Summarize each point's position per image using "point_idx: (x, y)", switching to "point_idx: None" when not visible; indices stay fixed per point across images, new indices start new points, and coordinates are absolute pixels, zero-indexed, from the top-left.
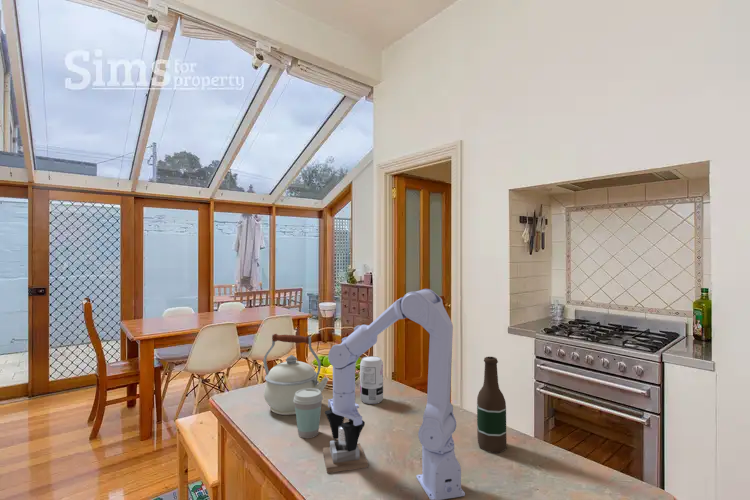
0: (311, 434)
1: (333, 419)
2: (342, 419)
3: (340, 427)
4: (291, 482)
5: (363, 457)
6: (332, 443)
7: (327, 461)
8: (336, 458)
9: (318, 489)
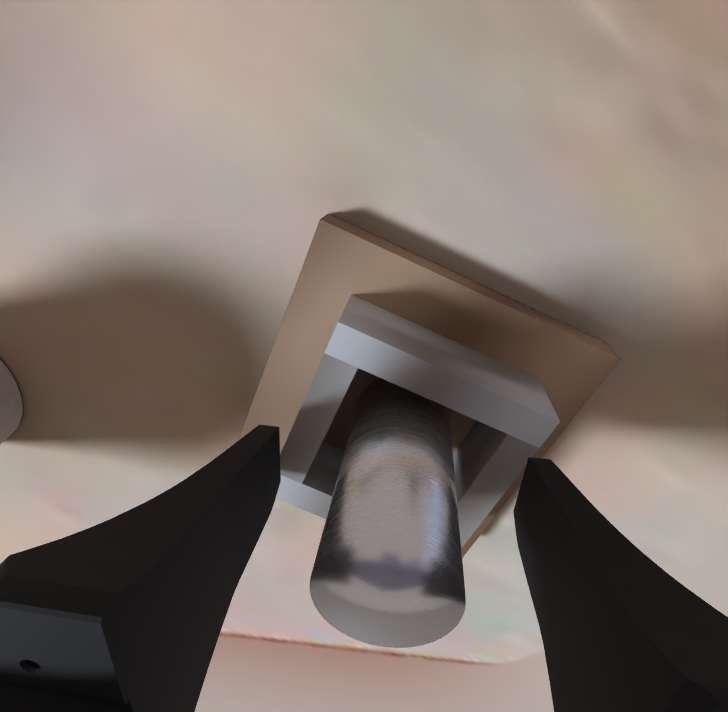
0: (5, 410)
1: (200, 655)
2: (199, 534)
3: (365, 625)
4: (412, 652)
5: (536, 337)
6: (312, 500)
7: None
8: None
9: None
